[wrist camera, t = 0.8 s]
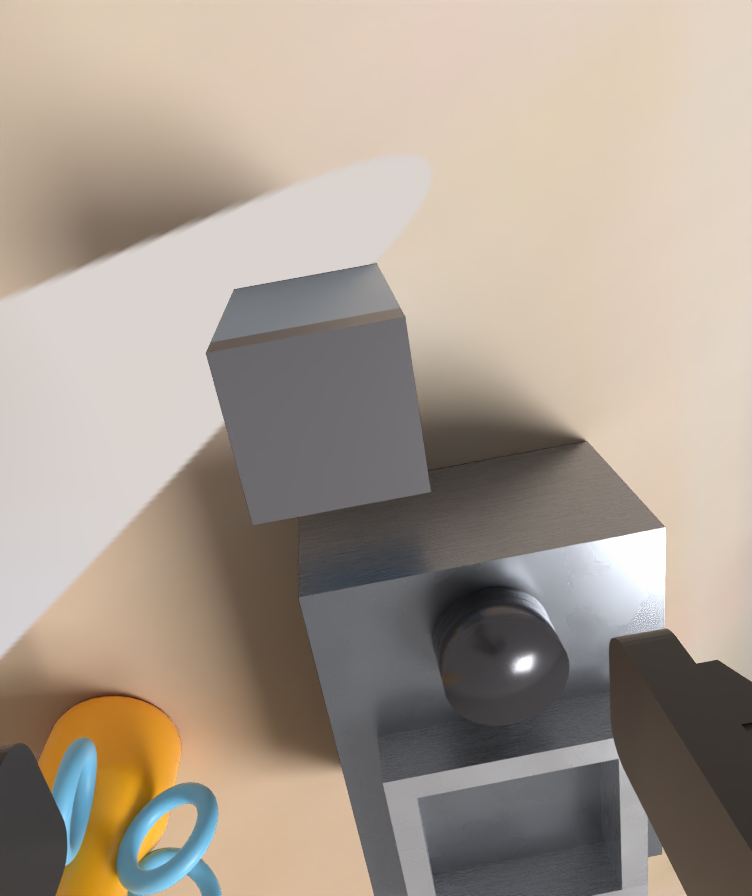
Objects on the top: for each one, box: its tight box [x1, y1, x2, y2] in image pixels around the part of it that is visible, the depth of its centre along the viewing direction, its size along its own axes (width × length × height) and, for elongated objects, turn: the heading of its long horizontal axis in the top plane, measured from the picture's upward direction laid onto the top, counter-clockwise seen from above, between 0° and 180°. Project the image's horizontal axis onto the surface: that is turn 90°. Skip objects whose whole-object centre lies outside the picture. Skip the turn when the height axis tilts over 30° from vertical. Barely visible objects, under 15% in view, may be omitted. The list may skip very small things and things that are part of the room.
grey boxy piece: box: [298, 441, 666, 896], centre depth 28 cm, size 16×12×9 cm
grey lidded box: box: [206, 263, 431, 525], centre depth 23 cm, size 5×5×8 cm
